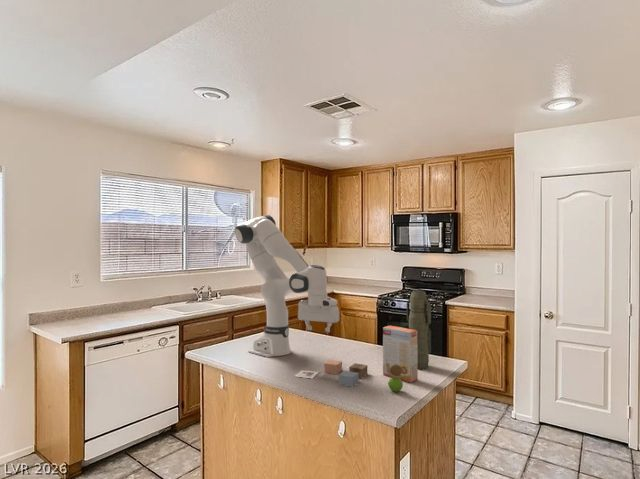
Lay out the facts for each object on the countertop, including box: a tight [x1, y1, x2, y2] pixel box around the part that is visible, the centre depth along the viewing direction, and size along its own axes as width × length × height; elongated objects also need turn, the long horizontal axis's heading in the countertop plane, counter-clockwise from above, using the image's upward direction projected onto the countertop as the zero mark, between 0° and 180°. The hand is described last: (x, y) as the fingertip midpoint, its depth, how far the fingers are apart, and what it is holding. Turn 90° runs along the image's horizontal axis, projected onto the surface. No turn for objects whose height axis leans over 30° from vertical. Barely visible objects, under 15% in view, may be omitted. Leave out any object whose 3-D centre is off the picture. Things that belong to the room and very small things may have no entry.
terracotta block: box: [323, 359, 343, 375], centre depth 173 cm, size 6×6×4 cm
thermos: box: [406, 289, 432, 370], centre depth 179 cm, size 9×12×35 cm
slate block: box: [338, 370, 359, 388], centre depth 158 cm, size 6×6×4 cm
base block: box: [348, 363, 368, 379], centre depth 168 cm, size 6×6×4 cm
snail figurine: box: [386, 359, 404, 393], centre depth 150 cm, size 5×6×12 cm
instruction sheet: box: [294, 369, 319, 380], centre depth 168 cm, size 8×8×1 cm
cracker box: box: [382, 325, 419, 383], centre depth 165 cm, size 14×6×21 cm, turn 43°
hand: (318, 330), depth 177 cm, fingers open, 8 cm apart
